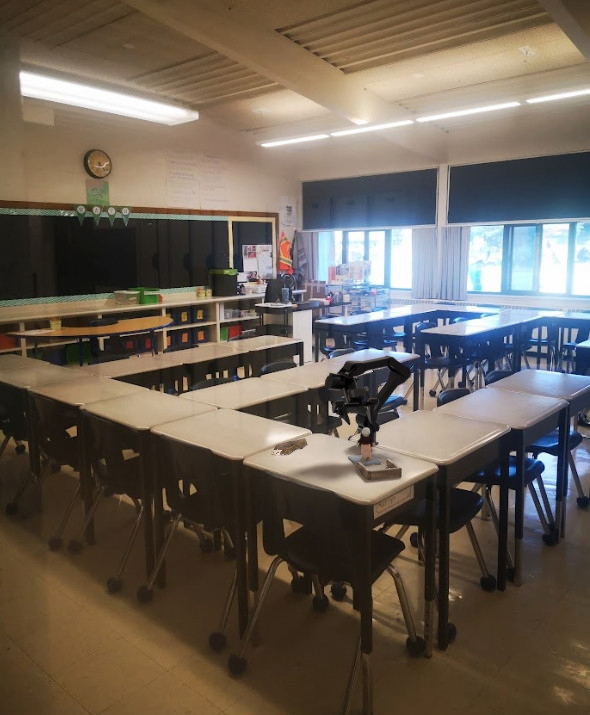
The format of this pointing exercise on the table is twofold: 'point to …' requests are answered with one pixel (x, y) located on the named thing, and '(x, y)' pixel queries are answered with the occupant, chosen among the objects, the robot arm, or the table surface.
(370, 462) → the slate mat
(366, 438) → the grandmother figurine
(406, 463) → the table surface
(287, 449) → the wooden fragment
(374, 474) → the walnut stall
